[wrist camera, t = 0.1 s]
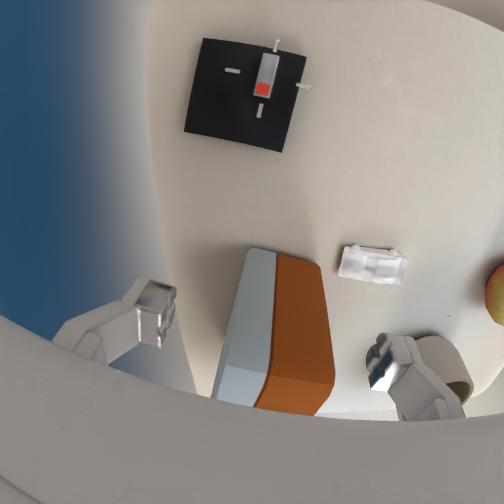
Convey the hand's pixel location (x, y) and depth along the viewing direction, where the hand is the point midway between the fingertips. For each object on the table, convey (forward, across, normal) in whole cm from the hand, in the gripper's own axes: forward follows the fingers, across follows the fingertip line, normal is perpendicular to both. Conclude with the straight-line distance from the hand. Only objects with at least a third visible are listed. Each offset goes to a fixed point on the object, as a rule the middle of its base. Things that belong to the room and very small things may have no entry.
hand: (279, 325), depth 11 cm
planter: (+23, -30, +22) cm, 44 cm away
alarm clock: (+23, -3, +18) cm, 30 cm away
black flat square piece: (+23, +6, -7) cm, 25 cm away
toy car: (+23, -13, +8) cm, 28 cm away
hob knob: (+21, +4, -9) cm, 23 cm away
